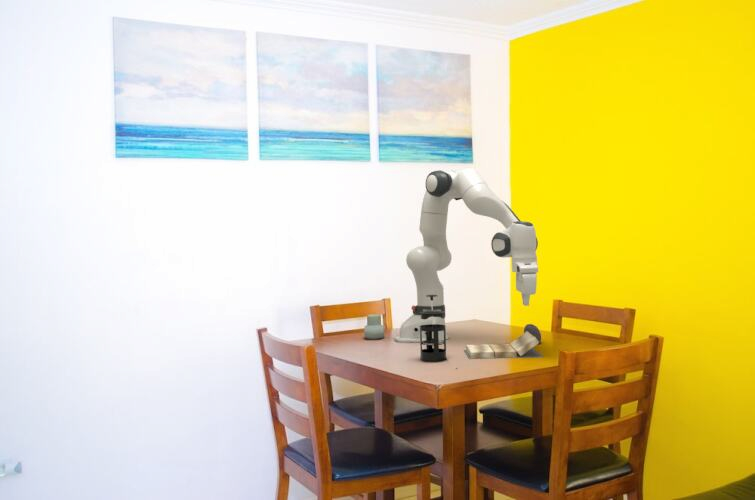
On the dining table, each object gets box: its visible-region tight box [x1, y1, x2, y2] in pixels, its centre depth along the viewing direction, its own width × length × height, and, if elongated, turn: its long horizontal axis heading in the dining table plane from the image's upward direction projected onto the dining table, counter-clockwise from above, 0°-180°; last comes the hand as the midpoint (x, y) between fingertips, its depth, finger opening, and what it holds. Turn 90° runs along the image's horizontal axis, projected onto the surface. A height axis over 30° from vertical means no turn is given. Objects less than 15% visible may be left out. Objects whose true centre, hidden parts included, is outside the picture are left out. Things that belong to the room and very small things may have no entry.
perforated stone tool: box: [523, 323, 542, 345], centre depth 275 cm, size 15×5×7 cm, turn 179°
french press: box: [419, 295, 448, 363], centre depth 248 cm, size 12×9×23 cm
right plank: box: [509, 331, 539, 356], centre depth 251 cm, size 8×16×2 cm
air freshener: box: [363, 313, 385, 340], centre depth 299 cm, size 11×8×10 cm
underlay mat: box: [463, 347, 544, 360], centre depth 251 cm, size 26×18×1 cm
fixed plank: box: [488, 343, 517, 359], centre depth 251 cm, size 7×16×2 cm, turn 179°
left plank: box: [465, 344, 494, 358], centre depth 252 cm, size 8×16×2 cm, turn 179°
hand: (526, 305), depth 250 cm, fingers closed
